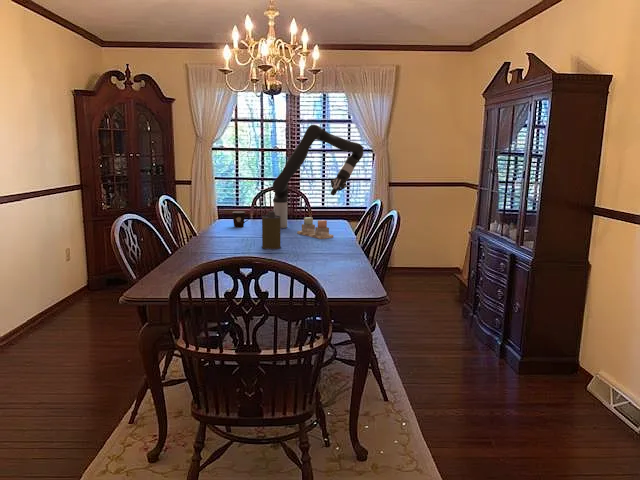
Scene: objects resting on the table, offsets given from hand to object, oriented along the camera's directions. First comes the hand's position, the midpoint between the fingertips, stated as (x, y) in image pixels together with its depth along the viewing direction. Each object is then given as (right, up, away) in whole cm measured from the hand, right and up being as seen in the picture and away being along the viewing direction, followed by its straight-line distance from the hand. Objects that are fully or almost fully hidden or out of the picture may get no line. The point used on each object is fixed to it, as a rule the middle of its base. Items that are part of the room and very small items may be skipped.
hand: (332, 194), depth 327 cm
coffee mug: (-62, -20, +28) cm, 71 cm away
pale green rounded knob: (-15, -21, +4) cm, 26 cm away
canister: (-35, -33, -40) cm, 62 cm away
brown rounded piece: (-6, -23, -7) cm, 25 cm away
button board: (-11, -26, -1) cm, 28 cm away
